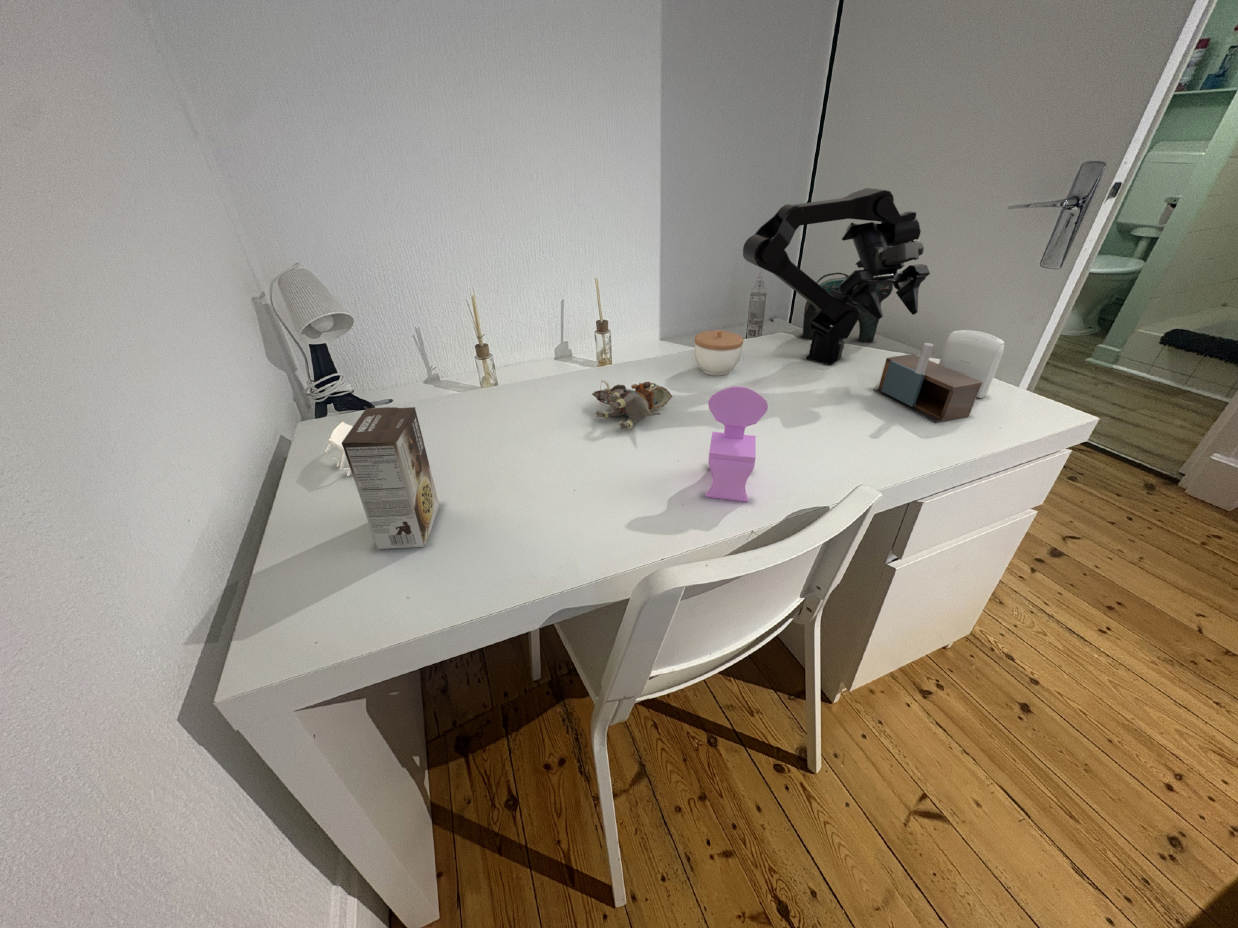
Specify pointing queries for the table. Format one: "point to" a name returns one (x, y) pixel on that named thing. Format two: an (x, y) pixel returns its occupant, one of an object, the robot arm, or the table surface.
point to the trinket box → (717, 351)
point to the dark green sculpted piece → (865, 318)
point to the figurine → (632, 401)
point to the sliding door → (907, 378)
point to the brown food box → (392, 476)
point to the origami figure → (339, 443)
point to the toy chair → (733, 441)
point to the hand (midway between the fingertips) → (898, 315)
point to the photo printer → (973, 356)
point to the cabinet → (938, 391)
